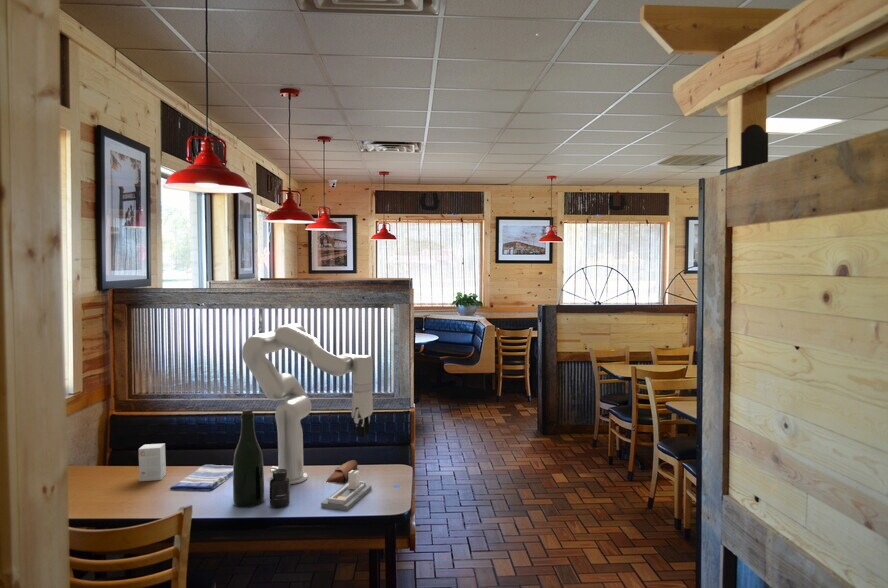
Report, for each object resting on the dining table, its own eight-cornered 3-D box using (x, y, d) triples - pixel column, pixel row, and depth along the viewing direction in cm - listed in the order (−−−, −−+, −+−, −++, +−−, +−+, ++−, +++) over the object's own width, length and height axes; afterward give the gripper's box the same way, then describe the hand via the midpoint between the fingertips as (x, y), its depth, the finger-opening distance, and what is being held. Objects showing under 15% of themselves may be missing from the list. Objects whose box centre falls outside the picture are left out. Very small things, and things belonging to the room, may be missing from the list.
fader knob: (355, 489, 205) (355, 472, 205) (348, 488, 206) (348, 472, 205) (359, 486, 208) (359, 470, 207) (352, 485, 208) (352, 469, 208)
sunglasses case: (337, 466, 234) (345, 453, 234) (352, 475, 234) (359, 462, 233) (324, 482, 216) (333, 468, 216) (340, 492, 216) (348, 477, 216)
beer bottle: (250, 494, 205) (249, 405, 204) (270, 500, 200) (269, 408, 199) (226, 504, 196) (225, 411, 195) (246, 510, 191) (245, 414, 190)
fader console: (347, 510, 190) (347, 501, 190) (321, 507, 193) (321, 498, 193) (371, 489, 209) (371, 481, 209) (347, 486, 212) (347, 478, 212)
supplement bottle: (279, 510, 191) (278, 475, 191) (265, 506, 195) (265, 472, 194) (294, 503, 197) (293, 469, 196) (280, 499, 200) (280, 466, 200)
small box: (166, 474, 226) (165, 443, 226) (160, 480, 220) (160, 447, 220) (144, 476, 225) (144, 444, 225) (138, 481, 219) (138, 448, 219)
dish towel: (241, 471, 232) (241, 464, 232) (212, 492, 209) (212, 485, 208) (202, 469, 234) (202, 463, 234) (168, 491, 210) (168, 484, 210)
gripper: (363, 382, 223) (363, 428, 223) (344, 391, 207) (344, 440, 207) (380, 383, 221) (380, 430, 221) (362, 392, 205) (363, 441, 205)
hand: (363, 434), depth 214 cm, fingers open, 3 cm apart
